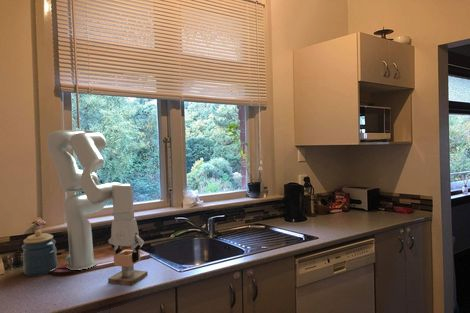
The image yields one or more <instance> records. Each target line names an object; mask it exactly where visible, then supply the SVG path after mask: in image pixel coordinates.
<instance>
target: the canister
mask: <svg viewBox="0 0 470 313" xmlns="http://www.w3.org/2000/svg"><path fill="white" fill-rule="evenodd" d="M56 242H57V241H56V240H55V239H54V235H52V234H50V233H47V232H43V233H42V231H41V230H35V231H34V234H31V235H28V236H27V237H26V238H24V239H23V244H22V245H21V249H22V250H23V253H22V260H23V261H22V262H23V273H24V275H25V276H27V277H37V276H43V275H44V276H45V275H47V274H50V273H51V272H50V270H52V269H54V268H56V267H57V268H58V266H59V263H58V257H57V247H56V245H55V244H56ZM49 272H50V273H49Z"/></svg>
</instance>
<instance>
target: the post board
mask: <svg viewBox="0 0 470 313" xmlns="http://www.w3.org/2000/svg"><path fill="white" fill-rule="evenodd" d="M120 267H121V271H119V272H117V273H115V274H113V275H112V276H110V277H108V278H107V279H108V280H107V282H108V283H111V284H120V285H128V286H133V285H135V284H136V283H138V282H140V281H141V280H142V279H144V278H146V277H147V276H148V272H149V271H147V270H138V269H137V270H136V269H135V267H134V265H132V266H130V267H125V266H120Z"/></svg>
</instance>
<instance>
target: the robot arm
mask: <svg viewBox="0 0 470 313" xmlns="http://www.w3.org/2000/svg"><path fill="white" fill-rule="evenodd" d="M106 147H107V140H106V138H105V136H104V135H103V134H102V133H101V132H97V131H91V130H87V129H62V130H61V129H60V130H55V131H52V132H50V133H49V134H48V135H47V138H46V149H47V152H48V154H49V157H50V158H51V160H52V162H53V164H54V167H55V171H56V173H57V174H56V175H57V177H58V181H59V184H60V187H61V189H62V191H63V192H65V193H75V192H76V193H77V194H73V195H69V196H67V197H66V198H65V199H64V200H63V202H62V203H63V204H62V210H63V213H64V216H65V219H66V220H65V221H66V228H67V236H68V237H67V240H68V250H69V251H68V252H69V254H67V255H66V257H64V261H65V262H68V263H67V265H66V269H67V268H68V269H71V270H79V269H86V270H89V269H92V268H94V267H95V265H96V266H97V265H98V263H99V261H98V259H96V258H94V247H93V246H94V244H93V232H92V225H91V222H90V221H89V219H88V218H87V215H90V214H93V213H94V214H95V213H98V212H101V211H103V209H104V208H105V204H107V203H112V211H113V212H112V213H111V216H113V219H112V221H111V230H110V233H111V234H110V238H109V239H108V240H107V242H108V243H109V244H110V246H111V247H112V248H113V251H114V252H115V254H117V253H120V252H122V251H123V248H122V247H130V248H131V250H133V252H132V260H133V263H135V262H137V261H138V260H139V252H138V251H141V250H140V249H141V248H142V247H143V245H144V244H145V241H144V239H142V237H140V236H139V233H140V232H139V227H138V223H137V219H136V218H135V210H134V209H135V208H134V198H133V196H134V195H133V186H132V185H131V184H130V183H121V182H117V181H115V182H108V183H102V184H101V183H100V180H99V177H98V175H97V173H96V171H98V170H99V169H100V168H102V166H103V165H104V163H105V160H104V158H103V156H102V154H101V152H103V151H104V150H105V149H106ZM67 150H72V151H73V153H74V154H75V156H76V157H77V160H78V161H79V163H80V165H81V166H82V168H83V169H82V168H81V169H79V167H78V164H77V161H76V158H75V157H73V155H72V154H71V153H70V152H68V151H67ZM82 191H83V192H82ZM78 192H82V193H78ZM137 263H138V262H137ZM135 264H136V263H135ZM93 266H94V267H93ZM91 267H92V268H91ZM88 268H89V269H88ZM68 269H67V270H68Z"/></svg>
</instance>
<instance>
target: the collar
mask: <svg viewBox="0 0 470 313" xmlns="http://www.w3.org/2000/svg"><path fill="white" fill-rule="evenodd" d="M132 252H133V250H132V249H124V250H123V249H122V252H120V253H117V254H116V253H115V254H114V255H113V263H114V264H113V265H114V267H115V266H116V267H121V266H125V267H130V266H132V265H133V266H134V265H135V264H137V263H139V262H140V261H141V250H139V251H138V252H139V260H138V261H137V262H135V263H133V260H132Z"/></svg>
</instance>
